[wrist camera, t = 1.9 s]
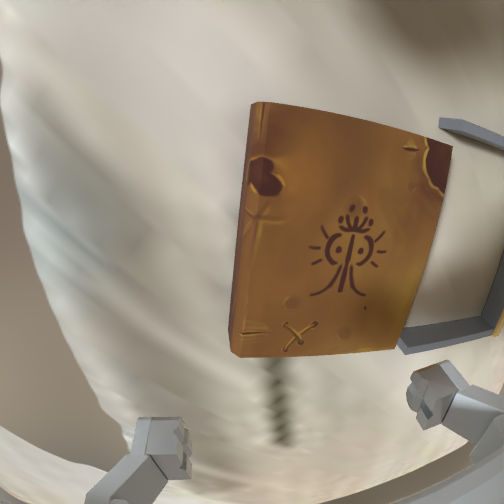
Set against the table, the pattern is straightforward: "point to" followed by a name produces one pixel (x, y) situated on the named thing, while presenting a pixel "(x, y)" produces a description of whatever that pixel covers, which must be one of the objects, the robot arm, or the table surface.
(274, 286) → the diary
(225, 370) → the table surface
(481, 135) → the bay
